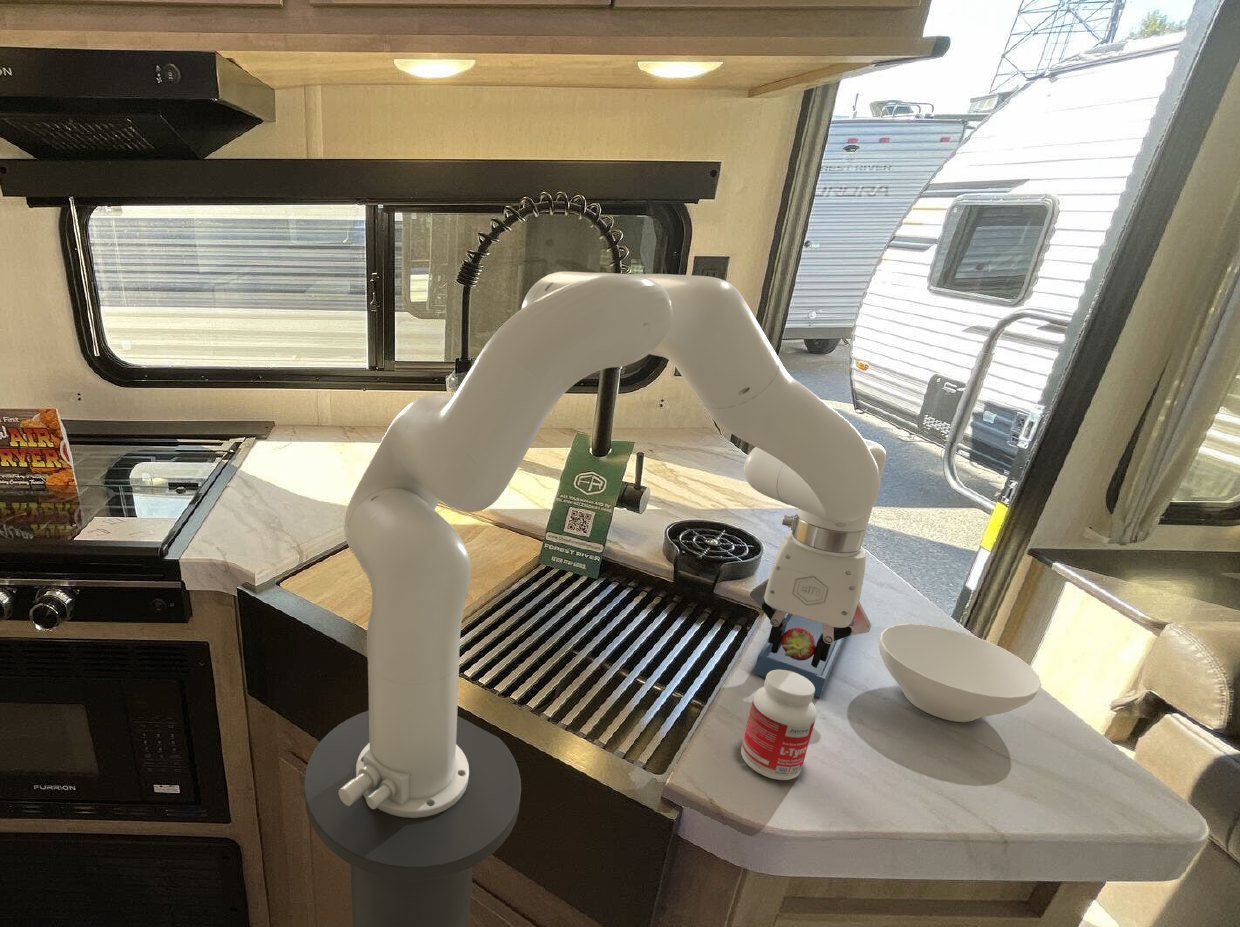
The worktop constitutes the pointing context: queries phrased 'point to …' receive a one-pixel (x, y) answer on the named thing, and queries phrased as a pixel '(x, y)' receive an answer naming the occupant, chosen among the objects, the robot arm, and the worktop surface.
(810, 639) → the fruit
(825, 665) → the tray
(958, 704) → the bowl
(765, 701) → the pill bottle
